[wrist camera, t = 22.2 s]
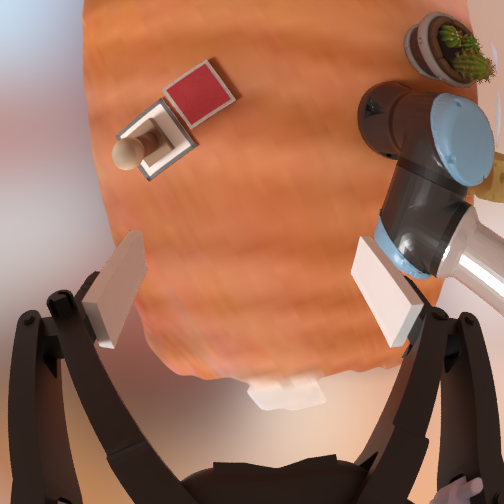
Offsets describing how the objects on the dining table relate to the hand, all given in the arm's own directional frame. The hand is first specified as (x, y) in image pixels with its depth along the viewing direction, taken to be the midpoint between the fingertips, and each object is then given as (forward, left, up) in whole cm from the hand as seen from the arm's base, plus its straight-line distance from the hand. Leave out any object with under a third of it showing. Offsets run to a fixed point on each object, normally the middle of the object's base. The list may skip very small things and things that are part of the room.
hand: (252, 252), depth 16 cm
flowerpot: (+2, -43, -35) cm, 55 cm away
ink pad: (+13, +1, -35) cm, 37 cm away
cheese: (-28, -48, -35) cm, 66 cm away
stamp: (+11, +12, -34) cm, 38 cm away
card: (+11, +12, -35) cm, 38 cm away
